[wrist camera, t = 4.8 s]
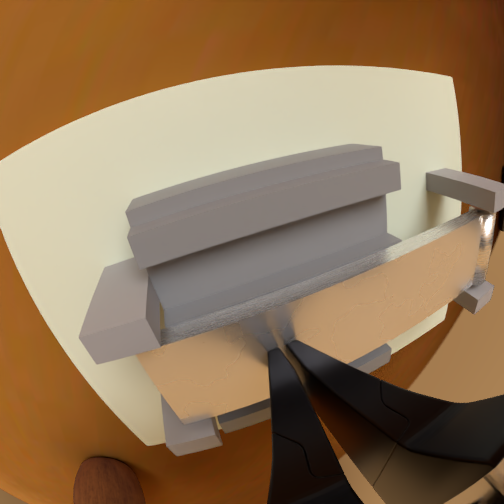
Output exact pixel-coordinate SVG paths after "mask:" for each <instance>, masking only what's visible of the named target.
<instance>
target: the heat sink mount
mask: <svg viewBox="0 0 504 504" xmlns="http://www.w3.org/2000/svg"><path fill="white" fill-rule="evenodd" d="M461 201H462V202H464V203H467V204H470V205H473V206H476V207H478V208H481V209H484V210H486V211H489V212H491V213H496V212H497V211H499V210H501V209H502V208H504V184H503V183H500V182H496V181H493V180H490V179H486V178H483V177H479V176H476V175H472V174H468V173H464V172H462V167H461V144H460V130H459V120H458V112H457V104H456V97H455V91H454V85H453V80H452V77H449V76H444V75H439V74H433V73H427V72H420V71H413V70H405V69H395V68H384V67H369V66H304V67H289V68H277V69H267V70H258V71H251V72H243V73H237V74H231V75H225V76H219V77H214V78H209V79H204V80H199V81H195V82H190V83H186V84H182V85H178V86H174V87H170V88H166V89H163V90H159V91H156V92H152V93H149V94H146V95H142V96H139V97H136V98H133V99H130V100H127V101H124V102H121V103H118V104H116V105H113V106H110V107H108V108H105V109H102V110H100V111H97V112H95V113H92V114H90V115H87V116H85V117H83V118H80V119H78V120H76V121H74V122H71V123H69V124H67V125H65V126H63V127H61V128H59V129H56V130H54V131H52V132H50V133H48V134H46V135H45V136H43V137H41V138H39V139H37V140H35V141H33V142H31V143H30V144H28V145H26V146H24V147H23V148H21V149H19V150H17V151H16V152H14V153H12V154H11V155H9V156H7V157H6V158H4V159H3V160H1V161H0V228H1V230H2V233H3V236H4V238H5V241H6V243H7V246H8V248H9V250H10V253H11V255H12V257H13V260H14V262H15V264H16V266H17V269H18V271H19V273H20V275H21V277H22V279H23V281H24V283H25V285H26V287H27V289H28V291H29V293H30V295H31V296H32V298H33V300H34V302H35V304H36V306H37V307H38V309H39V311H40V313H41V314H42V316H43V318H44V319H45V321H46V323H47V324H48V326H49V328H50V329H51V331H52V332H53V334H54V335H55V337H56V339H57V340H58V342H59V343H60V345H61V346H62V348H63V349H64V350H65V352H66V353H67V355H68V356H69V358H70V359H71V360H72V362H73V363H74V365H75V366H76V367H77V369H78V370H79V371H80V373H81V374H82V375H83V376H84V378H85V379H86V380H87V382H88V383H89V384H90V385H91V387H92V388H93V389H94V390H95V391H96V393H97V394H98V395H99V396H100V397H101V398H102V400H103V401H104V402H105V403H106V404H107V405H108V407H109V408H110V409H111V410H112V411H113V412H114V413H115V414H116V415H117V416H118V417H119V419H120V420H121V421H122V422H123V423H124V424H125V425H126V426H127V427H128V428H129V429H130V430H131V431H132V432H133V433H134V434H135V435H136V436H137V437H138V438H139V439H140V440H141V441H142V442H143V443H145V444H146V445H147V446H152V445H157V444H162V443H166V446H167V447H168V448H169V449H170V450H171V451H172V452H173V453H174V454H175V455H176V456H180V455H185V454H190V453H194V452H198V451H202V450H206V449H210V448H214V447H218V446H221V445H223V443H222V440H221V437H220V433H219V429H223V431H224V432H225V434H226V433H229V432H232V431H235V430H239V429H242V428H245V427H248V426H251V425H254V424H257V423H260V422H262V421H265V420H268V419H271V411H270V398H268V399H265V400H263V401H260V402H257V403H254V404H252V405H249V406H246V407H243V408H240V409H237V410H234V411H231V412H227V413H224V414H221V415H218V416H214V417H211V418H207V419H204V420H200V421H197V422H193V423H189V424H185V425H184V424H183V423H182V421H181V420H180V419H179V417H178V416H177V415H176V413H175V412H174V411H173V409H172V408H171V407H170V405H169V404H168V403H167V401H166V400H165V399H164V397H163V396H162V394H161V393H160V392H159V390H158V389H157V387H156V386H155V384H154V383H153V381H152V380H151V378H150V377H149V375H148V374H147V372H146V371H145V369H144V368H143V366H142V365H141V363H140V362H139V360H138V358H137V357H136V354H140V353H143V352H147V351H150V350H154V349H157V348H161V335H160V330H161V329H164V328H167V327H171V326H174V325H177V324H180V323H183V322H187V321H190V320H193V319H196V318H199V317H202V316H205V315H208V314H211V313H214V312H217V311H220V310H223V309H226V308H229V307H232V306H235V305H238V304H241V303H244V302H247V301H250V300H252V299H255V298H258V297H261V296H264V295H267V294H269V293H272V292H275V291H278V290H280V289H283V288H286V287H289V286H291V285H294V284H297V283H299V282H302V281H305V280H308V279H310V278H313V277H315V276H318V275H321V274H323V273H326V272H328V271H331V270H334V269H336V268H339V267H341V266H344V265H346V264H349V263H351V262H354V261H356V260H359V259H361V258H364V257H366V256H369V255H371V254H374V253H376V252H378V251H381V250H383V249H386V248H388V247H390V246H393V245H395V244H397V243H400V242H402V241H404V240H407V239H409V238H411V237H414V236H416V235H418V234H421V233H423V232H425V231H427V230H430V229H432V228H434V227H436V226H438V225H441V224H443V223H445V222H447V221H449V220H452V219H454V218H456V217H458V216H460V215H461ZM493 289H494V285H492V284H491V283H489V282H487V281H486V280H485V282H484V283H483V284H482V285H478V286H475V285H472V286H471V287H469V288H468V289H467V290H465V291H464V292H463V293H461V294H460V295H459V296H457V297H456V298H455V299H453V300H454V301H455V302H457V303H458V304H460V305H461V306H462V307H464V308H465V309H467V310H468V311H470V312H471V313H473V314H475V313H477V312H478V311H479V310H480V309H481V308H482V307H483V306H484V305H485V304H486V303H488V302H489V301H490V300H491V296H492V293H493ZM447 307H448V304H446V305H445V306H444V307H442V308H441V309H439V310H438V311H436V312H435V313H433V314H432V315H430V316H429V317H427V318H426V319H424V320H423V321H421V322H420V323H418V324H417V325H415V326H413V327H412V328H410V329H409V330H407V331H405V332H404V333H402V334H401V335H399V336H397V337H396V338H394V339H392V340H390V341H389V342H387V343H385V344H383V345H382V346H380V347H378V348H376V349H375V350H373V351H371V352H369V353H367V354H365V355H363V356H362V357H360V358H358V359H356V360H354V361H352V362H350V363H348V365H350V366H352V367H354V368H357V369H359V370H361V371H363V372H365V373H367V374H369V373H370V372H372V371H374V370H376V369H377V368H379V367H381V366H383V365H384V364H386V363H388V362H389V361H390V357H391V354H393V353H395V352H396V351H398V350H400V349H401V348H403V347H404V346H406V345H408V344H409V343H411V342H412V341H414V340H415V339H417V338H418V337H420V336H421V335H423V334H424V333H426V332H427V331H429V330H430V329H432V328H433V327H435V326H436V325H437V324H439V323H440V322H442V321H443V320H444V319H445V315H446V311H447Z"/></svg>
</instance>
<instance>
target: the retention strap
mask: <svg viewBox="0 0 504 504" xmlns="http://www.w3.org/2000/svg"><path fill="white" fill-rule="evenodd" d="M495 218H496V213H491V212H489V211H486V210H484V209H481V208H478V207H476V206H473V205H471V206H470V207H469V212H467V213H464V214H462V215H460V216H458V217H456V218H454V219H452V220H449V221H447V222H445V223H443V224H441V225H438V226H436V227H434V228H432V229H430V230H427V231H425V232H423V233H421V234H418V235H416V236H414V237H411V238H409V239H407V240H404V241H402V242H400V243H397V244H395V245H393V246H390V247H388V248H386V249H383V250H381V251H378V252H376V253H374V254H371V255H369V256H366V257H364V258H361V259H359V260H356V261H354V262H351V263H349V264H346V265H344V266H341V267H339V268H336V269H334V270H331V271H328V272H326V273H323V274H321V275H318V276H315V277H313V278H310V279H308V280H305V281H302V282H299V283H297V284H294V285H291V286H289V287H286V288H283V289H280V290H278V291H275V292H272V293H269V294H267V295H264V296H261V297H258V298H255V299H252V300H250V301H247V302H244V303H241V304H238V305H235V306H232V307H229V308H226V309H223V310H220V311H217V312H214V313H211V314H208V315H205V316H202V317H199V318H196V319H193V320H190V321H187V322H183V323H180V324H177V325H174V326H171V327H167V328H164V329H161V330H160V335H161V348H157V349H154V350H150V351H147V352H143V353H140V354H136V357H137V358H138V360H139V362H140V363H141V365H142V366H143V368H144V369H145V371H146V372H147V374H148V375H149V377H150V378H151V380H152V381H153V383H154V384H155V386H156V387H157V389H158V390H159V392H160V393H161V394H162V396H163V397H164V399H165V400H166V401H167V403H168V404H169V405H170V407H171V408H172V409H173V411H174V412H175V413H176V415H177V416H178V417H179V419H180V420H181V421H182V423H183V424H184V425H185V424H189V423H193V422H197V421H200V420H204V419H207V418H211V417H214V416H218V415H221V414H224V413H227V412H231V411H234V410H237V409H240V408H243V407H246V406H249V405H252V404H254V403H257V402H260V401H263V400H265V399H268V398H270V393H269V376H268V359H267V352H268V351H269V350H272V349H274V348H277V347H278V348H280V349H281V351H282V352H283V353H284V355H285V356H286V358H287V353H286V347H285V345H286V344H287V343H289V342H291V341H294V340H299V341H301V342H303V343H305V344H307V345H309V346H311V347H313V348H315V349H317V350H319V351H321V352H323V353H325V354H327V355H329V356H331V357H333V358H335V359H337V360H339V361H342V362H344V363H346V364H348V363H350V362H352V361H354V360H356V359H358V358H360V357H362V356H363V355H365V354H367V353H369V352H371V351H373V350H375V349H376V348H378V347H380V346H382V345H383V344H385V343H387V342H389V341H390V340H392V339H394V338H396V337H397V336H399V335H401V334H402V333H404V332H405V331H407V330H409V329H410V328H412V327H413V326H415V325H417V324H418V323H420V322H421V321H423V320H424V319H426V318H427V317H429V316H430V315H432V314H433V313H435V312H436V311H438V310H439V309H441V308H442V307H444V306H445V305H446V304H448V303H449V302H451V301H452V300H453V299H455V298H456V297H457V296H459V295H460V294H461V293H463V292H464V291H465V290H467V289H468V288H469V287H471V286H472V285H475V286H478V285H482V284H483V283H484V282H485V279H486V274H487V269H488V264H489V259H490V254H491V248H492V242H493V235H494V227H495ZM287 359H288V358H287Z"/></svg>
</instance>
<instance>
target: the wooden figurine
mask: <svg viewBox="0 0 504 504" xmlns="http://www.w3.org/2000/svg"><path fill="white" fill-rule="evenodd" d="M73 500H74V504H146V503H145V499H144V495H143V491H142V488H141V486H140V483H139V481H138V479H137V477H136V475H135V473H134V472H133V471H132V469H131V468H130V467H128V466H127V465H126V464H124V463H122V462H120V461H118V460H115V459H111V458H105V457H94V458H90V459H87V460H85V461H84V462H83V463H82V464H81V466H80V468H79V470H78V473H77V475H76V478H75V484H74V494H73Z"/></svg>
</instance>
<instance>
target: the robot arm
mask: <svg viewBox="0 0 504 504" xmlns="http://www.w3.org/2000/svg"><path fill="white" fill-rule="evenodd" d="M503 184H504V176H503ZM500 230H501V231H504V208H502V209H501V219H500ZM285 347H286V353H287V358H288V359H287V358H286V356H285V355H284V353H283V352H282V351H281V349H280V348H278V347H277V348H274V349H272V350H269V351H268V352H267V359H268V376H269V393H270V411H271V429H272V469H271V478H270V486H269V493H268V500H267V504H364V503H363V502H362V501H361V500H360V498H359V497H358V496H357V494H356V493H355V492H354V490H353V489H352V487H351V486H350V484H349V482H348V480H347V478H346V476H345V475H344V472H343V470H342V468H341V466H340V464H339V461H338V459H337V457H336V455H335V453H334V451H333V449H332V446H331V444H330V442H329V440H328V438H327V436H326V434H325V431H324V429H323V427H322V425H321V423H320V421H319V419H318V417H317V414H318V415H319V417H320V418H321V420H322V421H323V422H324V424H325V425H326V426H327V428H328V429H329V430H330V432H331V433H332V435H333V436H334V437H335V439H336V440H337V441H338V443H339V444H340V445H341V447H342V448H343V449H344V451H345V452H346V453H347V454H348V456H349V457H350V459H351V460H352V461H353V463H354V464H355V465H356V466H357V468H358V469H359V470H360V472H361V473H362V474H363V475H364V477H365V478H366V479H367V481H368V482H369V483H370V484H371V486H373V488H374V490H375V491H376V492H377V493H378V495H379V496H380V497H381V498H382V500H383V501H384V502H385V503H386V504H504V395H500V396H496V397H493V398H488V399H484V400H479V401H476V402H470V403H454V402H449V401H445V400H441V399H437V398H433V397H429V396H426V395H422V394H418V393H415V392H412V391H408V390H406V389H403V388H400V387H398V386H395V385H393V384H390V383H388V382H386V381H383V380H380V379H379V378H376V377H374V376H372V375H370V374H367V373H365V372H363V371H361V370H359V369H357V368H354V367H352V366H350V365H348V364H346V363H344V362H342V361H339V360H337V359H335V358H333V357H331V356H329V355H327V354H325V353H323V352H321V351H319V350H317V349H315V348H313V347H311V346H309V345H307V344H305V343H303V342H301V341H299V340H294V341H291V342H289V343H287V344H286V345H285ZM315 411H316V412H315ZM316 413H317V414H316Z"/></svg>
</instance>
